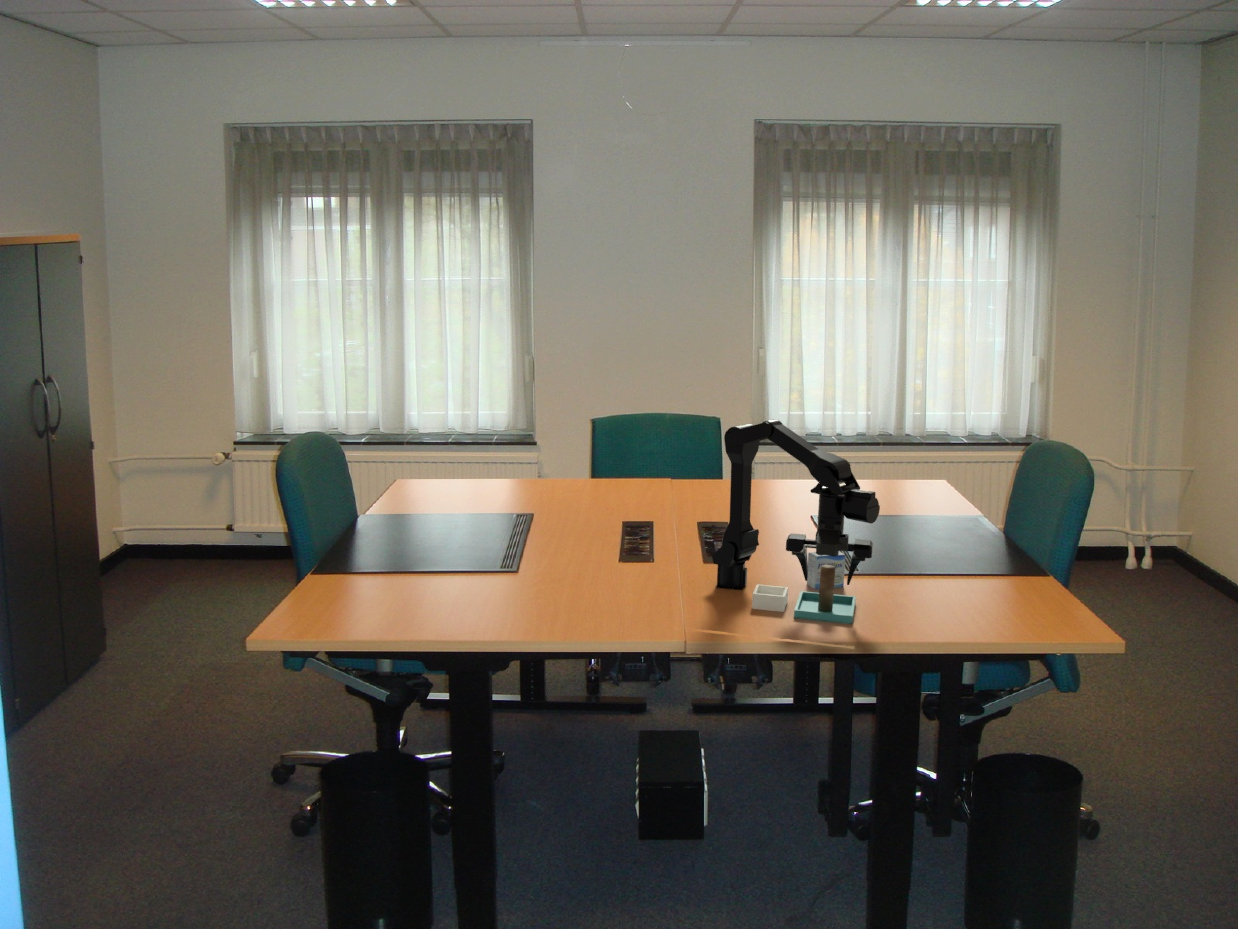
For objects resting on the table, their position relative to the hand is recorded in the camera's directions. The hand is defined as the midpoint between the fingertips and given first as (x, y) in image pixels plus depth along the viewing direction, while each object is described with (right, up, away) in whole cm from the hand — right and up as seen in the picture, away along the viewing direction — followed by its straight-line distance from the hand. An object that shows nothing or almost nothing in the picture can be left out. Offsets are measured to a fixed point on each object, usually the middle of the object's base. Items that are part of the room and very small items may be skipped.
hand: (827, 582), depth 238 cm
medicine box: (+3, -4, +20) cm, 20 cm away
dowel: (0, -6, +1) cm, 6 cm away
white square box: (-12, -6, +5) cm, 14 cm away
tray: (0, -7, +1) cm, 7 cm away
